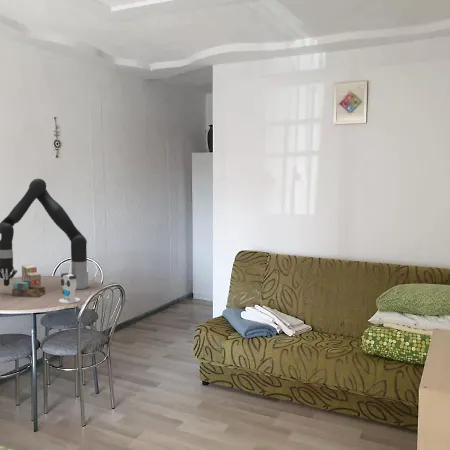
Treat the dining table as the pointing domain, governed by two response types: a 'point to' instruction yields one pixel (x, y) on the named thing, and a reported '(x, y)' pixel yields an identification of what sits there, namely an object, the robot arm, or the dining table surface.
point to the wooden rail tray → (28, 293)
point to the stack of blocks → (31, 275)
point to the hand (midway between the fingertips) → (6, 285)
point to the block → (21, 282)
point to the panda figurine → (68, 288)
